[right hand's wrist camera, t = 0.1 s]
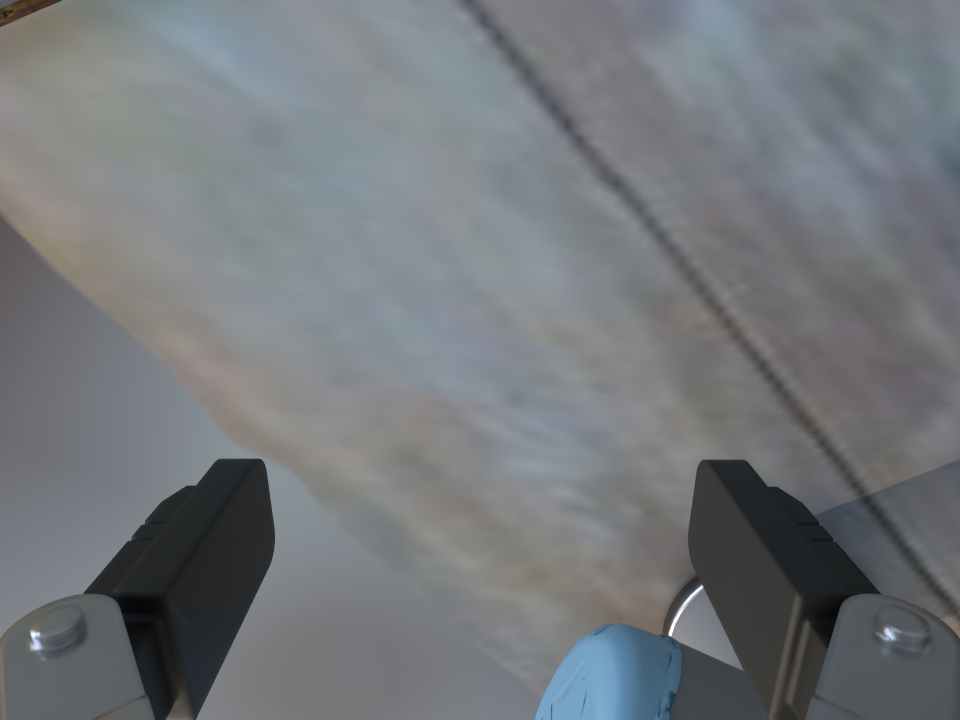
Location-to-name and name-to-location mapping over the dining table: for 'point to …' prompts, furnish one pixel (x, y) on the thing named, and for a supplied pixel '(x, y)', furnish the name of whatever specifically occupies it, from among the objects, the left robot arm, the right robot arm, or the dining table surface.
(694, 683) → the left robot arm
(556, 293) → the dining table surface
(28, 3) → the brown wooden rod
